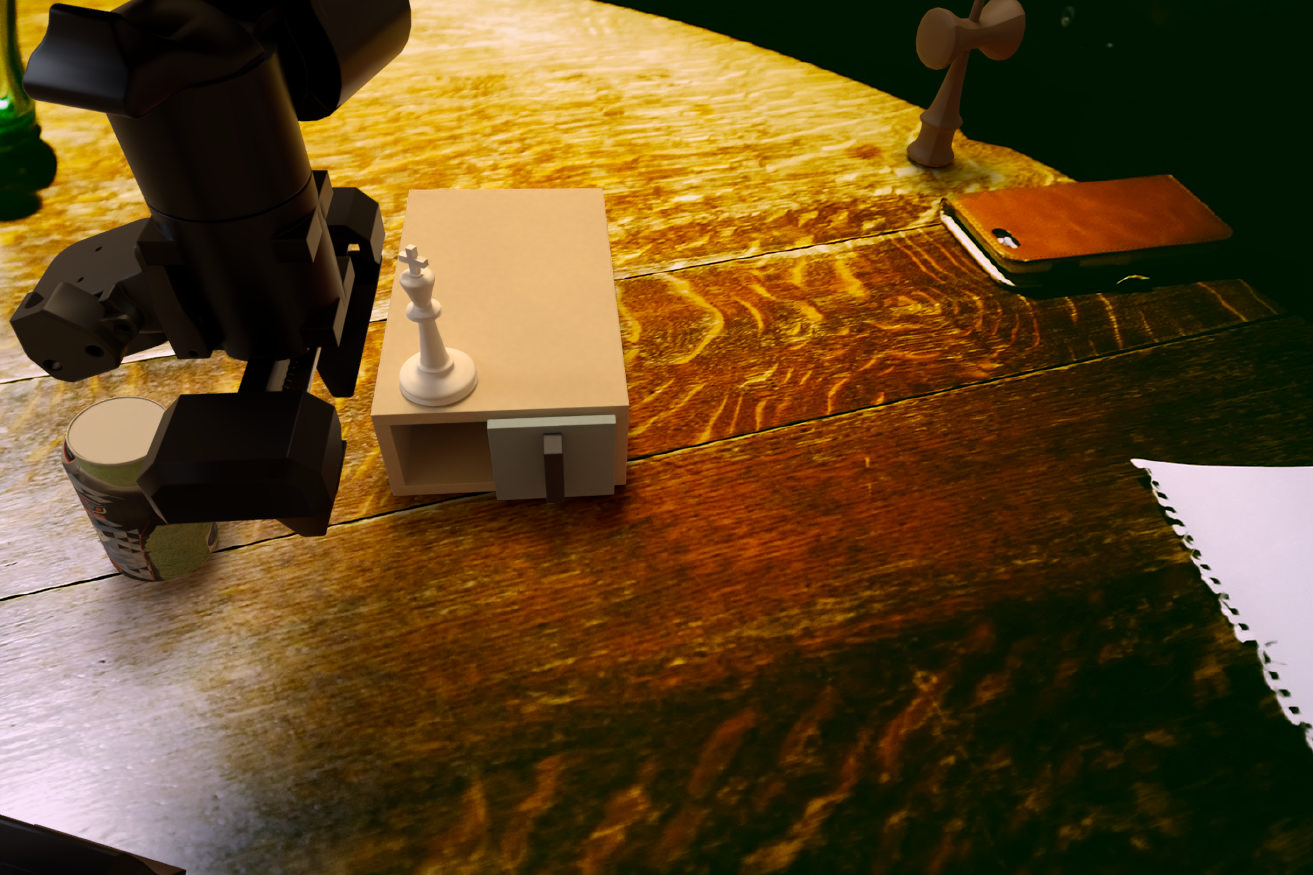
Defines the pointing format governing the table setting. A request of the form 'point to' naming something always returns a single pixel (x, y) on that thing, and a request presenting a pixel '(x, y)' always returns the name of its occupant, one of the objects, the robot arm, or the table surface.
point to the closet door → (553, 457)
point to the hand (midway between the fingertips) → (330, 459)
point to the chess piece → (430, 343)
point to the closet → (502, 328)
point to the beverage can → (129, 491)
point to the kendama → (959, 66)
